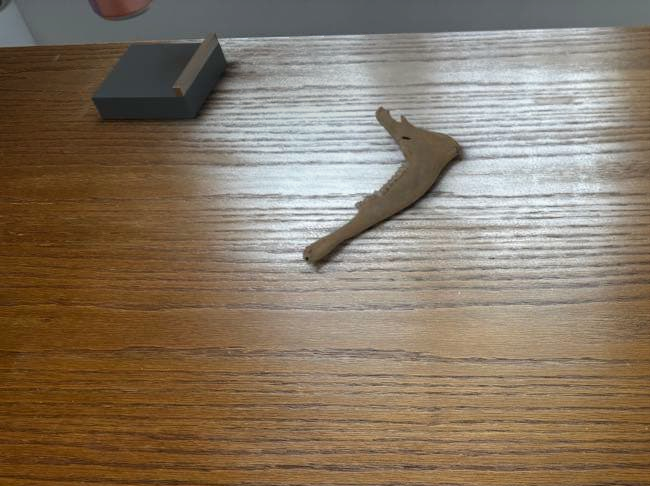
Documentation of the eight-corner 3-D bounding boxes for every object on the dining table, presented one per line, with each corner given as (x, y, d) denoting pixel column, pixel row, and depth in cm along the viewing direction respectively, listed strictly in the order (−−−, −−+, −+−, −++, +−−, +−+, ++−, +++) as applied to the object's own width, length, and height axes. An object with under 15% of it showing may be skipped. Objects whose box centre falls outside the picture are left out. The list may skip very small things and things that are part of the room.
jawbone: (472, 133, 79) (470, 114, 78) (407, 286, 68) (404, 268, 66) (380, 121, 81) (377, 102, 79) (301, 270, 69) (295, 251, 67)
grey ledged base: (102, 119, 86) (85, 88, 83) (141, 65, 92) (126, 34, 89) (194, 118, 84) (179, 86, 81) (228, 64, 90) (215, 32, 87)
